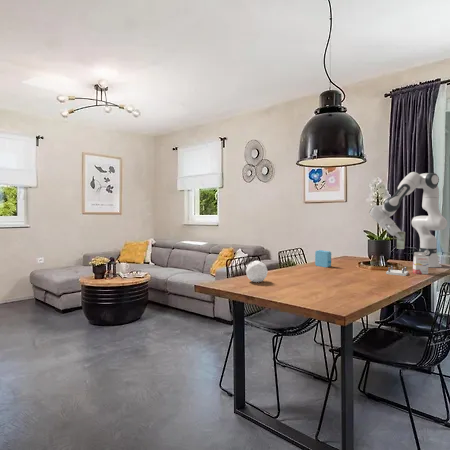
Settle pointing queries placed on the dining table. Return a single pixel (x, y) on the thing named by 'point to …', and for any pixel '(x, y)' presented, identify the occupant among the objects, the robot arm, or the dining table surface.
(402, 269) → the standoff pins
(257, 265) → the geodesic sphere
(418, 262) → the ink cartridge box
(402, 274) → the mounting plate
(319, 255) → the data package
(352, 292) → the dining table surface
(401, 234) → the sage spacer block
